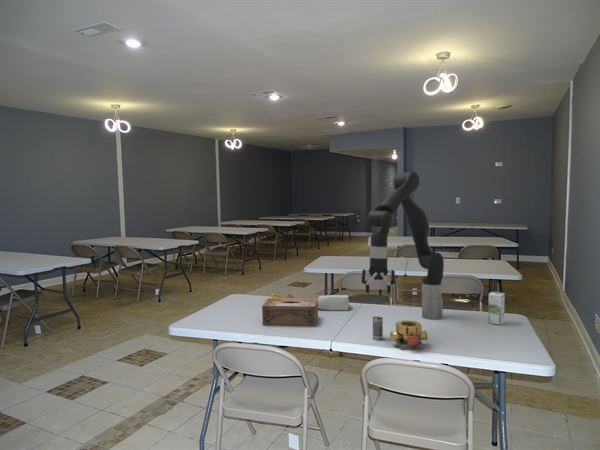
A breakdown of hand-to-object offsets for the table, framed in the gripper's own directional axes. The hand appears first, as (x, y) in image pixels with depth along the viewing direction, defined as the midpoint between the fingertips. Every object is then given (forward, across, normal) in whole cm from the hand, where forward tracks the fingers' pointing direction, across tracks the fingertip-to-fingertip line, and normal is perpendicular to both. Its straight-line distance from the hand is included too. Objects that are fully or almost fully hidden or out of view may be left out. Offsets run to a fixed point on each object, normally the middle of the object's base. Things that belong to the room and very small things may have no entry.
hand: (377, 293), depth 179 cm
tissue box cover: (+21, +40, -22) cm, 50 cm away
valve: (+19, -12, +11) cm, 25 cm away
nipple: (+20, 0, +2) cm, 20 cm away
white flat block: (+20, +21, -52) cm, 60 cm away
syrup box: (+17, -59, -19) cm, 64 cm away
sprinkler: (+20, +49, -52) cm, 74 cm away
